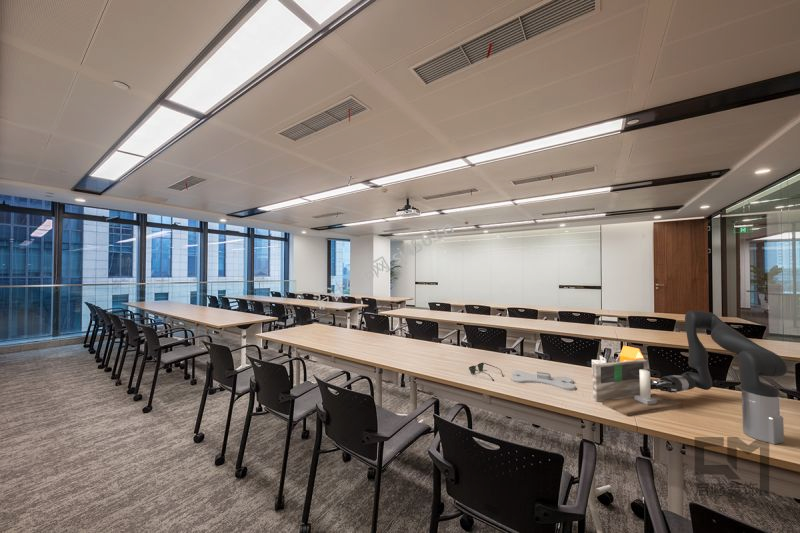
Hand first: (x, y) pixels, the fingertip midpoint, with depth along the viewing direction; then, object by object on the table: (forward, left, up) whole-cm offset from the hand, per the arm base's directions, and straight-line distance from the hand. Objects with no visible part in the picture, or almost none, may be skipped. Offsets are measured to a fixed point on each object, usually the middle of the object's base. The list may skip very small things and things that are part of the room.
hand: (648, 387), depth 140 cm
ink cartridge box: (+30, -4, -9) cm, 32 cm away
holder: (+40, +28, -9) cm, 49 cm away
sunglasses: (+57, +54, -9) cm, 79 cm away
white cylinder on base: (+2, +2, -7) cm, 7 cm away
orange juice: (+26, -24, -9) cm, 37 cm away
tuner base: (+2, +5, -9) cm, 10 cm away
